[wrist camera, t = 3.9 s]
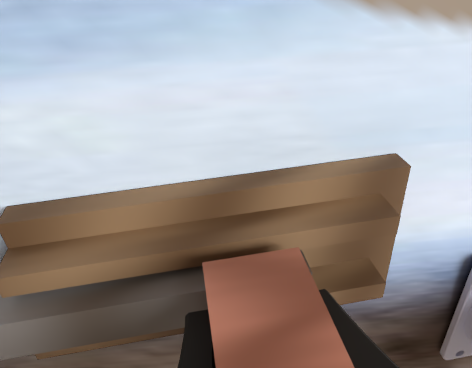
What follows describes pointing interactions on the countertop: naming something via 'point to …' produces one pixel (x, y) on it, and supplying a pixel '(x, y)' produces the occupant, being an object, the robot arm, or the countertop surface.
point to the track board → (213, 230)
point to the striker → (180, 304)
